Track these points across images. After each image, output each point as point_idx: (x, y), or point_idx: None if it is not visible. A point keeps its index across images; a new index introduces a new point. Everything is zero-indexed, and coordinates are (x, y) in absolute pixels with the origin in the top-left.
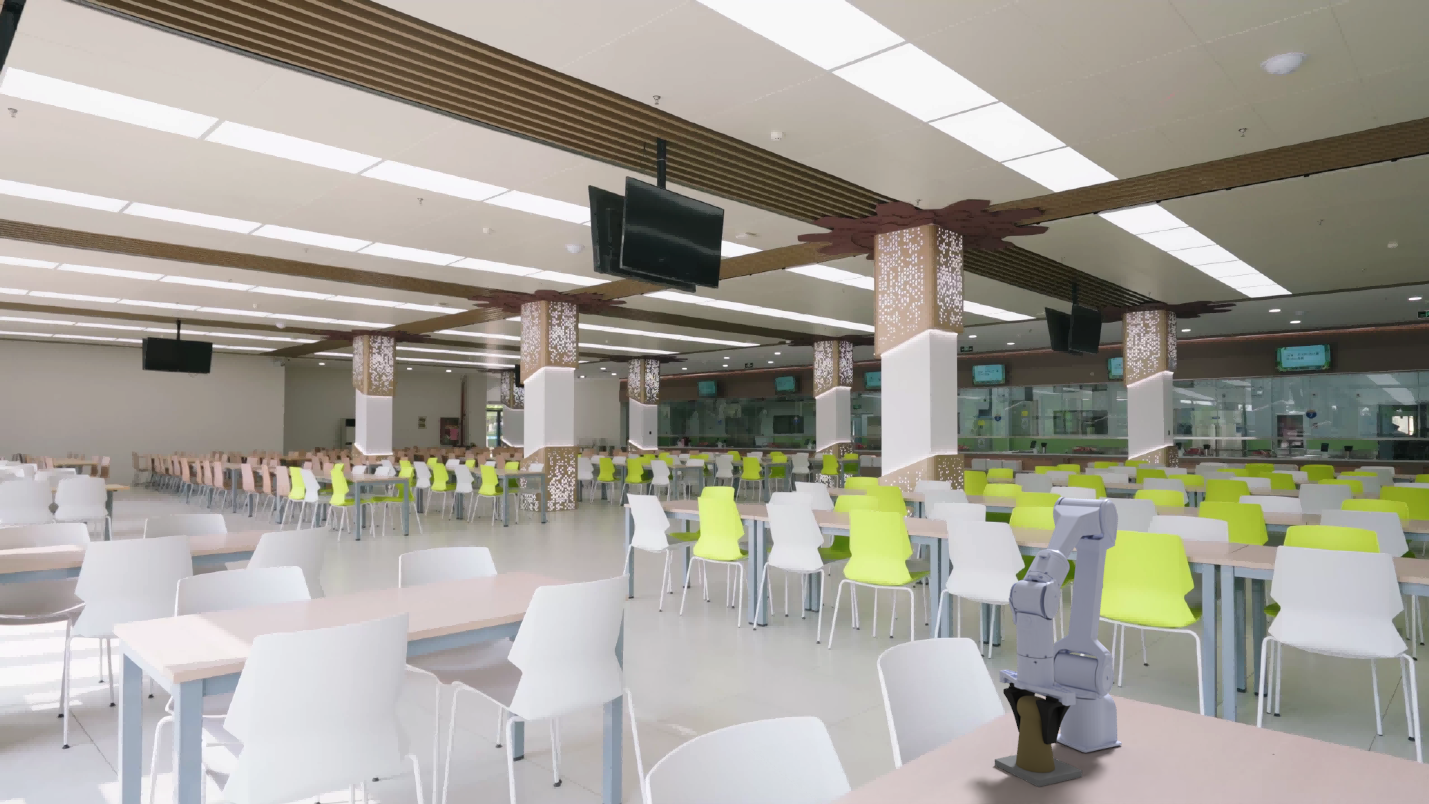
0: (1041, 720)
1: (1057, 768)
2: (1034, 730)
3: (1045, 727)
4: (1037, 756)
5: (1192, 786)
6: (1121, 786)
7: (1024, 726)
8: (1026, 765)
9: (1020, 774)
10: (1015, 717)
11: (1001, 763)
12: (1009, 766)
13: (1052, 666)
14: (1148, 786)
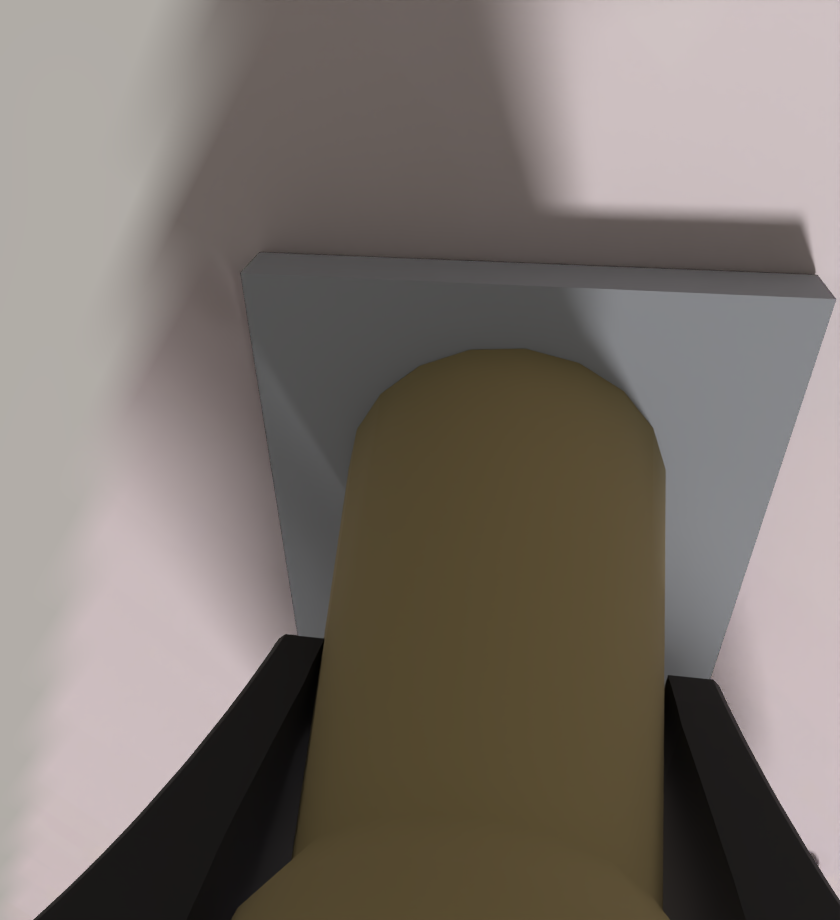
0: (196, 881)
1: None
2: (343, 707)
3: (174, 793)
4: (361, 488)
5: (86, 829)
6: (142, 662)
7: (480, 709)
8: (454, 377)
9: (464, 273)
10: (781, 843)
11: (726, 290)
12: (611, 289)
13: None
14: (117, 736)
